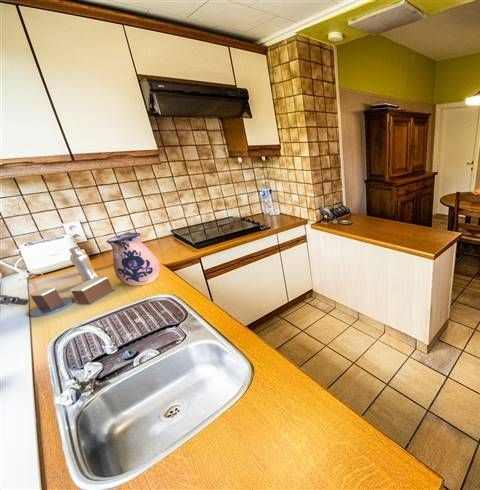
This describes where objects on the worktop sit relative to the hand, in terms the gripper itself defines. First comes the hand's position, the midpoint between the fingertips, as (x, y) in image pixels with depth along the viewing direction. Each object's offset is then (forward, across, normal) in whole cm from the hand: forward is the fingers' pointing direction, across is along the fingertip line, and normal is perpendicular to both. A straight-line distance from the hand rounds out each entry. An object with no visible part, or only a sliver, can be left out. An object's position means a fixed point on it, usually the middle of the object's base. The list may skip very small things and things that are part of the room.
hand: (18, 302), depth 108 cm
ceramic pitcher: (+29, -23, -16) cm, 40 cm away
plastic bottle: (+27, +4, -14) cm, 31 cm away
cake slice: (+11, 0, 0) cm, 11 cm away
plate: (+12, 0, +1) cm, 12 cm away
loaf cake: (+18, -13, -5) cm, 23 cm away
